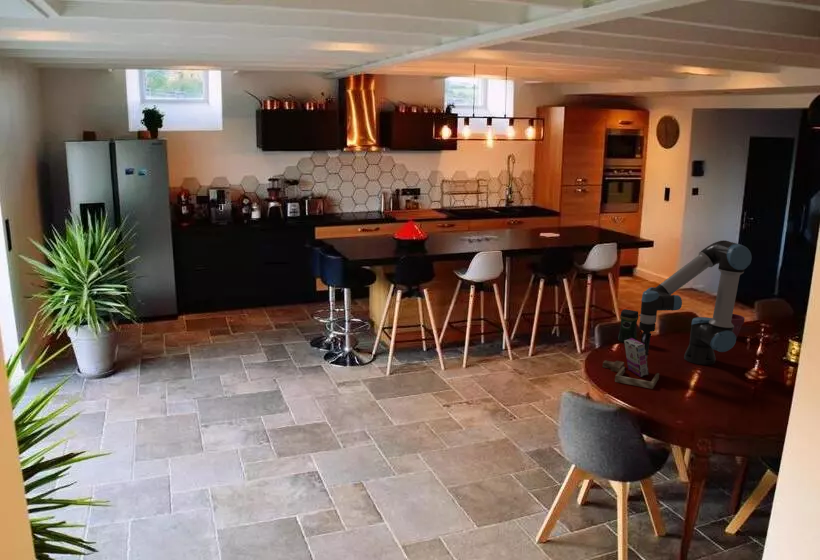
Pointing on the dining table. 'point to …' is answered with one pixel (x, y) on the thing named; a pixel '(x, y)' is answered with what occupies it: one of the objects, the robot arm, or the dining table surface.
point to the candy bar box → (636, 357)
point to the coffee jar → (628, 325)
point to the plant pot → (737, 323)
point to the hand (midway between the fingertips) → (642, 367)
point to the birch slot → (635, 380)
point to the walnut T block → (613, 365)
